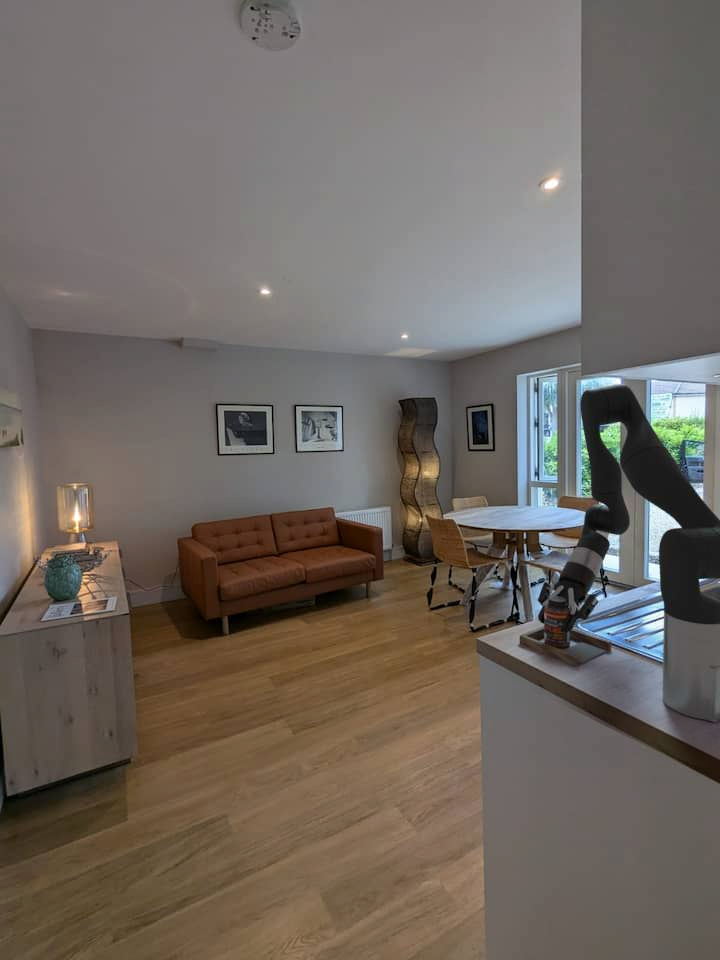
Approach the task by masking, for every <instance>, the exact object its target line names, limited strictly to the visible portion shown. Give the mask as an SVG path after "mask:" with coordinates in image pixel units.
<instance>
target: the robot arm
mask: <svg viewBox="0 0 720 960" xmlns="http://www.w3.org/2000/svg"><path fill="white" fill-rule="evenodd" d="M580 397H581V398H580V402H579V403H580V405H579V406H580V416H581V423H582V429H583V434H584V441H585V445H586V451H587V456H588V460H589V467H590V469H589V470H590V491H591V492H590V493H591V497H592V499H593V500H595V501H596V502H598V503H601V504H597V503H596V504H592V505H590V506H589V507H588V508H587V509H586V511H585V514H584V519H583V520H584V521H583V527H582V532H581V534H580V535H581V536H580V538H579V540H578V542H577V544H576V546H575V548H574V550H573V551H572V552H571V554H570V555H569V557H568V558H567V561H566V563H565V564H564V567H563V569H562V570H561V573H560V574H559V576H558V577H559V578H558V581H557V582H556V583H555V584H550V583H549V582H547V581H545V582H544V583H543V584H542V586H541V589H540V593H539V595H538V598H537V602H538V603H539V604H540V605H541V609H540V611H539V612H538V614H537V618H538V621H539V622H540V624H543V625H544V608H545V606H546V605H548V604H549V603H548V599H549V597H551V596H559V597H563V598H565V599H566V606H569V609H570V614H568V616H567V618H566V620H565V622H564V624H563V626H562V628H563V629H564V631H566V632H569V631H571V630H572V629H574V626H575V624H576V622H577V621H578V620H580V619H581V620H582V619H583V620H587V619H588V618H589V616H590V615H591V614H592V612H593V611H594V610H595V608H596V606H597V605H598V603H599V600H598V598H597V597H596V596H595V594H593V593H589V592H590V591H591V588H592V586H593V585H594V583H595V581H596V579H597V576H598V575H599V573H600V571H601V568H602V564H603V561H604V560H605V558H606V555H607V554H608V551H609V549H610V547H611V544H610V541H609V539H608V538H607V537H606V536H604V534H601V533H599V532H603V533H605V534H611V535H615V536H621V535H624V533H626V532H627V531H628V529H629V528H630V524H631V518H630V514H629V510H628V507H627V506H626V503H625V502H626V501H625V499H624V496H623V491H622V489H623V483H622V482H623V480H622V477H623V476H622V474H623V473H624V475H625V477H626V479H627V480H628V482H629V484H630V486H631V487H632V489H633V490H634V491H635V492H636V493H637V494H638V495H639V496H641V497H642V498H643V499H645V500H646V501H648V502H649V503H650V504H652V505H654V506H655V507H656V508H658V509H660V510H662V511H663V512H664V513H665V514H667V515H669V516H670V517H671V518H672V519H673V520H674V521H675V522H676V523H677V524H678V525H679V526H680V527H676V528H675V527H674V528H670V529H668V530H666V531H665V532H664V533H663V534H662V536H661V539H660V541H659V547H658V561H659V562H658V565H659V588H660V595H661V598H662V600H663V601H662V602H663V637H662V638H663V641H662V642H663V645H662V646H663V648H662V686H661V687H662V688H661V690H662V701H663V702H664V704H665V705H666V706H668V707H669V708H670V709H672V710H674V711H675V712H677V713H679V714H682V715H685V716H687V717H690V718H695V719H700V720H705V721H710V722H711V723H713V724H714V723H717V722H718V721H719V720H720V599H718V598H716V597H713V596H711V595H707V594H704V593H702V591H701V586H700V580H713V579H714V580H715V579H720V519H719V517H718V516H717V515H716V514H715V513H714V512H713V511H712V509H711V508H710V507H709V506H708V505H707V504H706V503H705V501H704V500H703V498H702V497H701V496H700V495H699V494H698V491H696V489H695V487H694V486H693V485H692V484H691V483H690V481H689V480H688V479H687V477H686V476H685V474H684V472H683V471H682V470H681V468H680V466H679V464H678V463H677V461H676V460H675V458H674V457H673V455H672V454H671V453H670V451H669V450H668V448H667V447H666V446H665V444H664V443H663V441H662V440H661V439H660V437H659V436H658V434H657V432H656V431H655V430H654V427H652V425H651V423H650V421H649V420H648V418H647V416H646V413H644V410H643V407H642V406H641V404H640V402H639V400H638V398H637V396H636V394H635V393H634V391H633V390H632V389H631V388H630V387H629V386H628V385H627V384H625V383H616V384H615V383H614V384H611V385H610V384H609V385H604V386H603V385H602V386H598V387H593V388H589V389H586V390H584V392H583V393H582V395H581V396H580ZM617 423H622V424H623V426H624V427H625V428H626V437H625V441H624V442H623V443H624V444H623V446H622V449H621V451H620V459H619V461H618V460H617V458H616V457H615V455H614V454H613V453H612V452H611V451H610V450H609V448H608V447H607V446H606V444H605V443H604V441H603V439H602V435H601V432H600V431H601V429H600V427H601V426H605V425H610V424H617ZM622 472H623V473H622ZM581 602H583V604H582V605H581V606H580V603H581Z"/></svg>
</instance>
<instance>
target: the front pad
mask: <svg viewBox="0 0 720 960" xmlns="http://www.w3.org/2000/svg"><path fill="white" fill-rule="evenodd" d="M563 650H564V651H566V652H569V653H571V654H574V655H576V656H579V665H580V664H581V665H582V664H583V665H584V664H585V663H587V662H589V661H591V660H593V659H595V658H598V657H600V656H602V655H603V654H606V653H607V652H608V651H607V650H605V649H602V648H599V647H596V646H594V645H591V644H588V643H585V642H582V641H580V642H579V643H577V644H574V645H572V646H568V647H567V648H565V649H563Z"/></svg>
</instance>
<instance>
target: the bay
mask: <svg viewBox="0 0 720 960" xmlns="http://www.w3.org/2000/svg"><path fill="white" fill-rule="evenodd" d="M542 638H544V625H543V626H540V627H538V628H536V629H535V628H534V629H532V630H530V631H528V632H525V633H521V634H520V635H519V644H521V645H523V646H525V647H528V648H531V649H532V650H536V651H538V652H540V653H543V654H544V655H547V656H549V657H552V658H554V659H557V660H560V661H562V662H564V663H567V664H569V665H572V666H574V667H576V668H577V667H579V666H580V663H579V656H576V655H574V654H571V653H569V652H566V651H564V649H561V648H559V647H553V646H551V645H548V644H547V643H546V642H542V641H540V640H538V639H542ZM571 638H572V639H575V640H578V641H580V642H584V643H587V644H590V645H593V646H595V647H598V648H601V649H604V650H607V652H610V651H612V641H611V640H607V639H604V638H601V637H598V636H596V635H593V634H590V633H588V632H587V633H586V632H584V631H581V630H578V629H575V628H573V629H572V630H571V631H570V639H571Z"/></svg>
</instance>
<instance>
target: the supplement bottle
mask: <svg viewBox="0 0 720 960" xmlns="http://www.w3.org/2000/svg"><path fill="white" fill-rule="evenodd" d="M548 603H549V604H548V605H546V606H545V608H544V624H543V626H544V637H543V641H544V643H546V644H548V645H551V646H553V647H556V648H558V649H561V648H562V649H563V648H566V647H567V648H568V647H570V645H571V637H570V631H569V632H566V631H564V629H563V628H562V626H563V624H564V622H565V620H566V618H567V616H568V614H570V607H568V605H567V604H566V599H565V598H563V597H559V596H551V597H549V599H548Z"/></svg>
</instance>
